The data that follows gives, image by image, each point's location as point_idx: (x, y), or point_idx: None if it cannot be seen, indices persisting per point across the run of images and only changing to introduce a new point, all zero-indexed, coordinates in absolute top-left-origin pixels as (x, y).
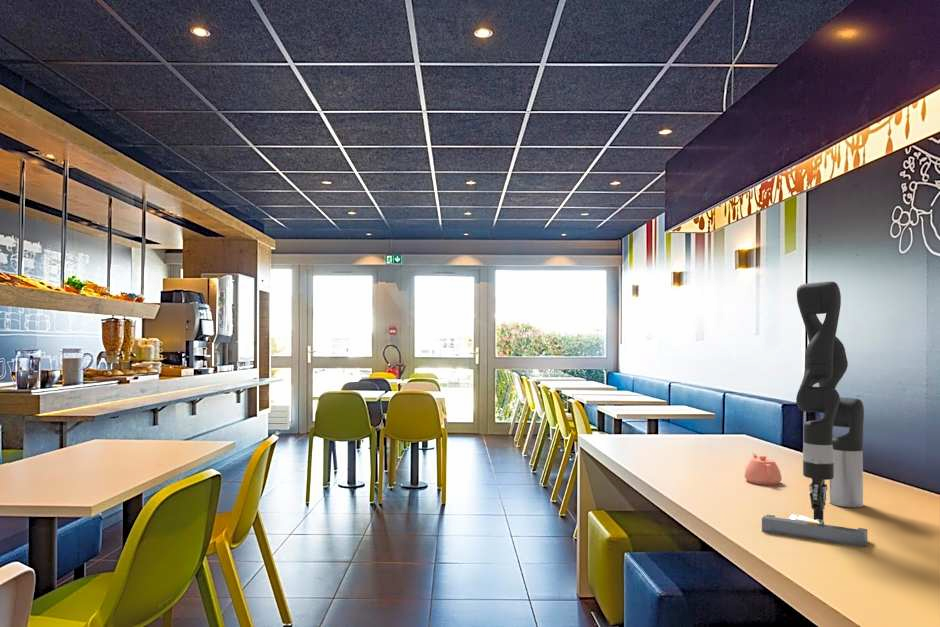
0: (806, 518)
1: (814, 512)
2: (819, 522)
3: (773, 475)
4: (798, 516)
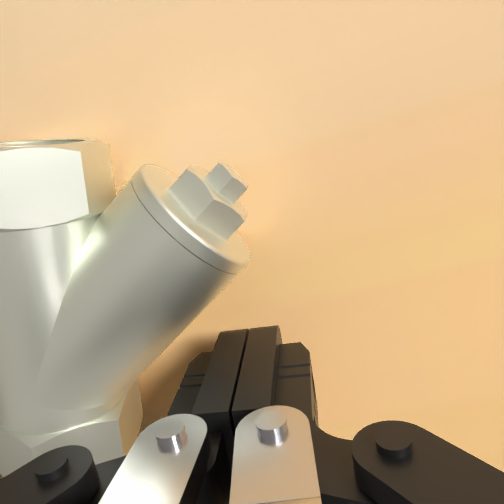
0: (10, 339)
1: (201, 403)
2: (6, 463)
3: None
4: (147, 196)
